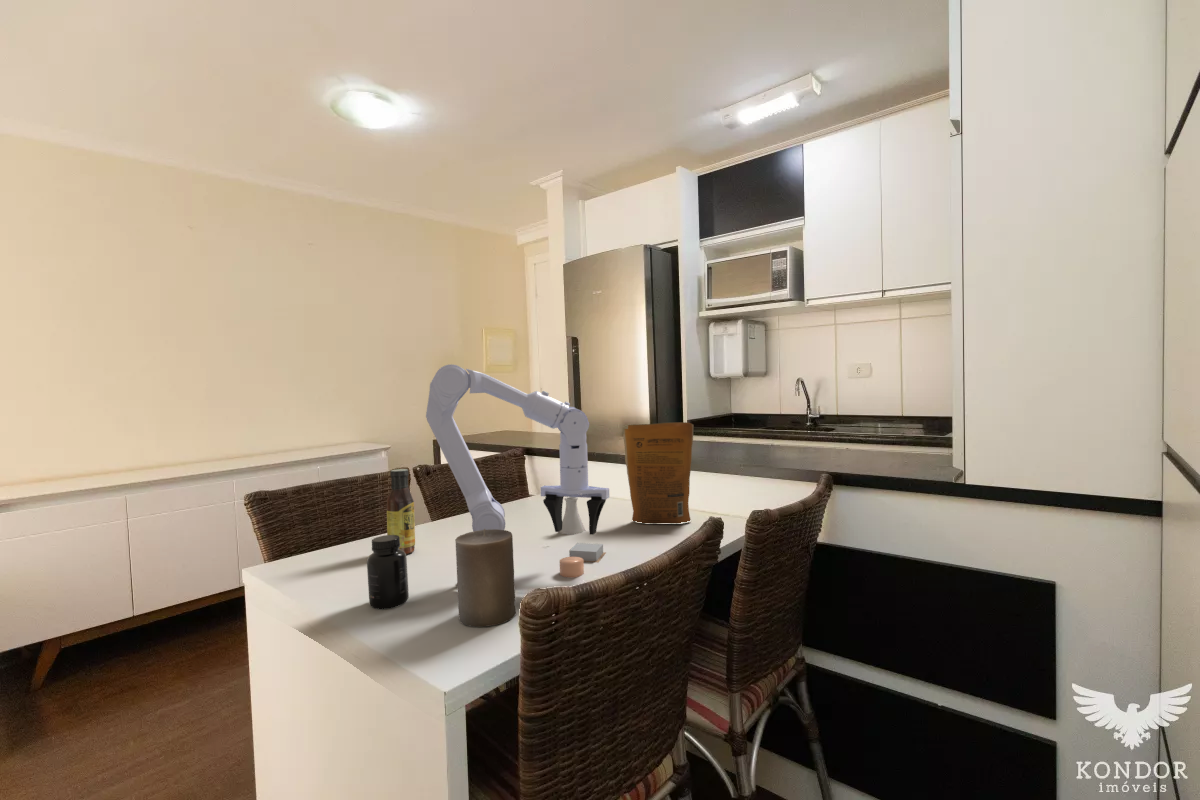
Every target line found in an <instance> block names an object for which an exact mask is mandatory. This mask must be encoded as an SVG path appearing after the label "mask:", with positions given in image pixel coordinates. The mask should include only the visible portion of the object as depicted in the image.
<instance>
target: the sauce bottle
mask: <svg viewBox="0 0 1200 800" xmlns="http://www.w3.org/2000/svg"><path fill="white" fill-rule="evenodd" d="M408 477H409V469H407V468H401V469H392V470H390V478H391V490H390V492H389V494H388V495H387V498H386V535H397V536H399V537H400V547H399V549H401V550H403V551H404V552H405V553H406V555H408V554H411V553H414V552H415V546H416V531H415V530H416V524H415V521H416V520H415V500H414V498H413V496H412V493H411V491H410V488H409V478H408Z"/></svg>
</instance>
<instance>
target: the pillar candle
mask: <svg viewBox="0 0 1200 800" xmlns="http://www.w3.org/2000/svg"><path fill="white" fill-rule="evenodd" d="M513 540H514V539H513V533H512V532H511V531H510V530H498V529H492V530H485V529H484V530H480V531H474V532H473V531H470V532H466V533H464V534H460V535H459V536H457V537H456V539H455V557H456V558H455V559H456V581H457V583H456V584H457V585H456V586H457V603H458V604H457V606H458V609H457V610H458V620H459V622H460V623H461V624H463V625H464V626H468V627H475V628H476V627H477V628H481V627H482V628H483V627H491V626H498V625H501V624H504V623H506V622H508V621H510V620H512V619H513V618H514V616H516V615H517V611H516V590H515V587H516V586H515V567H514V566H515V565H514V564H515V563H514V543H513Z"/></svg>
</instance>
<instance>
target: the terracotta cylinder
mask: <svg viewBox="0 0 1200 800" xmlns="http://www.w3.org/2000/svg"><path fill="white" fill-rule="evenodd" d="M584 563H585V562H584V560H583V558H580V557H569V556H567V557H562V558H561V559H559V575H560V576H561V577H563V578H577V577H581V576H583V575H584V574H585V570H584V569H585V564H584Z"/></svg>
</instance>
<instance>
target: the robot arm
mask: <svg viewBox="0 0 1200 800" xmlns="http://www.w3.org/2000/svg"><path fill="white" fill-rule="evenodd" d="M468 390H469V394H483V393H484V394H487V395H490V396H492V397H495V398H497V399H500V400H502V401H504V402H507V403H510V404H512V405H514V406H517V407H519V408H521V410H522V412H523V414H524V417H525V418H527V419H530V420H532V421H534V422H536V423H539V424H541V425H544V426H545V427H548V428H550V429H552V430H553V429H558V431H560V432H559V440H560V441H559V442H560V443H559V445H558V446H559V475H560V476H559V478H560V479H559V480H560V485H558V484H557V485H542V486H540V497H545V498H544V499H543V500H542V501H543V505H544V506H545V508H546V509H547V511H548V513H549V515H550V517H551V521H552V525H553V527H554V532H555V533H560V532H559V531H561V530H562V521H563V503H564V498H566V497H577V498H584V499H585V498H587V499H588V498H589V499H588V500H587V501H586V506H587V511H588V521H589V522H588V524H589V525H588V526H589V527H588V529H589V530H588V531H589V532H588V533H589V535H594V534H596V533H597V528H598V524H599V519H600V516H601V512H602V510H603V508H604V505H605V503H606V501H607V500H608V499H609V498H610V488H609V487H600V486H592V485H591V486H590V485H589V465H588V463H589V461H588V460H589V459H588V443H587V432H588V430H589V428H590V421H589V418H588V416H587V414H586V413H585V412H584V411H582V410H581V409H578V408H576V407H575V406H571V403H570V402H568V401H564V402H563V401H561V400H558V399H556V398H554V397H551V396H549V394H550V393H549V392H547V391H545V390H542V391H541V392H540V391H539V390H536V391H533V392H530V393H526V392H524V391H523V390H520V389H518V388H516V387H514V386H512V385H510V384H507V383H505V382H503V381H501V380H499V379H497V378H495V377H493V376H491V375H488V374H486V373H484V372H480V371H476V370H473V369H469V368H466V369H464V368H463V367H461V366H459V365H457V364H452V363H451V364H446V365H443V366H441V367H440V368H438V370H437V371H436V372H435V374H434V376H433V377H432V380H431V382H430V383H429V391H428V400H427V406H426V411H425V418H426V421H427V423H428V425H429V427H430V430H431V432H432V433H433V435H434V437H435V439H436V441H437V443H438V446H439V448H440V450H441V452H442V454H443V455H444V458H445V459H446V462H447V464H448V466H449V468H450V470H451V472H452V474H453V476H454V478H455V480H456V483H457V484H458V486H459V489H460V490H461V493H462V494H463V497H464V500H465V502H466V505H467V509H468V512H469V514H470V516H471V520H472V521H471V522H472V523H471V524H472V525H471V529H472V532H474V531H480V530H484V529H485V530H492V529H498V530H505V529H506V519H505V517H506V516H505V515H506V514H505V508H504V507H503V505H502V504H501V503H500V502H499V501H497V500H496V499H495V498H494V497H493V495H492V492H491V491H490V490H489V488H488V486H487V484H486V482H485V481H484V478H483V477H482V474H481V473H480V470H479V468H478V466H477V464H476V462H475V460H474V458H473V456H472V454H471V452H470V450H469V447H468V445H467V443H466V442H465V439H464V437H463V435H462V432H461V431H460V428H459V427H458V425H457V422H456V421H455V419H454V413H455V411H456V409H457V407H458V404H459V401H460V400H461V399H462V398H463V397H464V396H465V394H466V393H467V392H468Z"/></svg>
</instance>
